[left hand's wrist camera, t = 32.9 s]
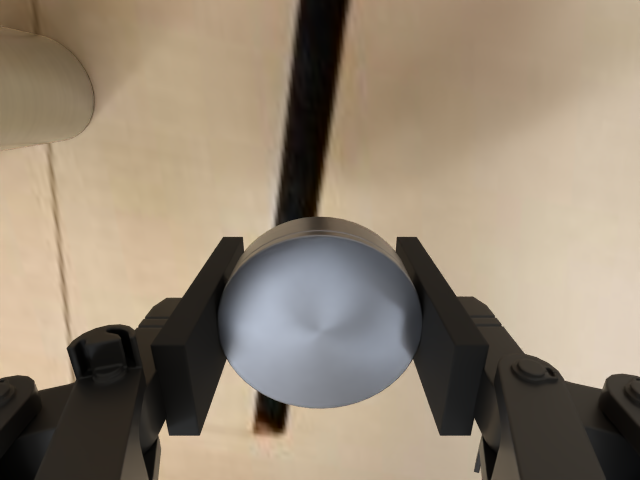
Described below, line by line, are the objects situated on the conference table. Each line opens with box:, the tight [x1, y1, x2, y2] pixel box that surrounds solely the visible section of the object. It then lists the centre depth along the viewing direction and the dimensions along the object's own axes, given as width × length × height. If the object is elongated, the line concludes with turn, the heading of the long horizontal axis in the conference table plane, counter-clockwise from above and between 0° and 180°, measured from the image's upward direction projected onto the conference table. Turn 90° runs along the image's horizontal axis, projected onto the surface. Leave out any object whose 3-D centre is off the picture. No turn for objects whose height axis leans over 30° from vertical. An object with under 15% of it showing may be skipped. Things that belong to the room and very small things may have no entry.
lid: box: [217, 217, 423, 408], centre depth 11 cm, size 6×6×2 cm
